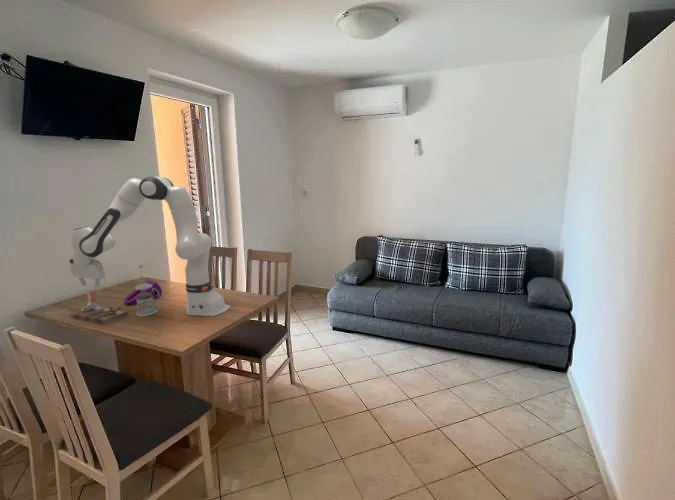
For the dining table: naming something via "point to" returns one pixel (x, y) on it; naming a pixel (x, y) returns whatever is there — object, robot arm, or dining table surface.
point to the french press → (145, 308)
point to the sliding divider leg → (91, 300)
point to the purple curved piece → (133, 295)
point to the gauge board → (101, 314)
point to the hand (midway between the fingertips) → (90, 286)
